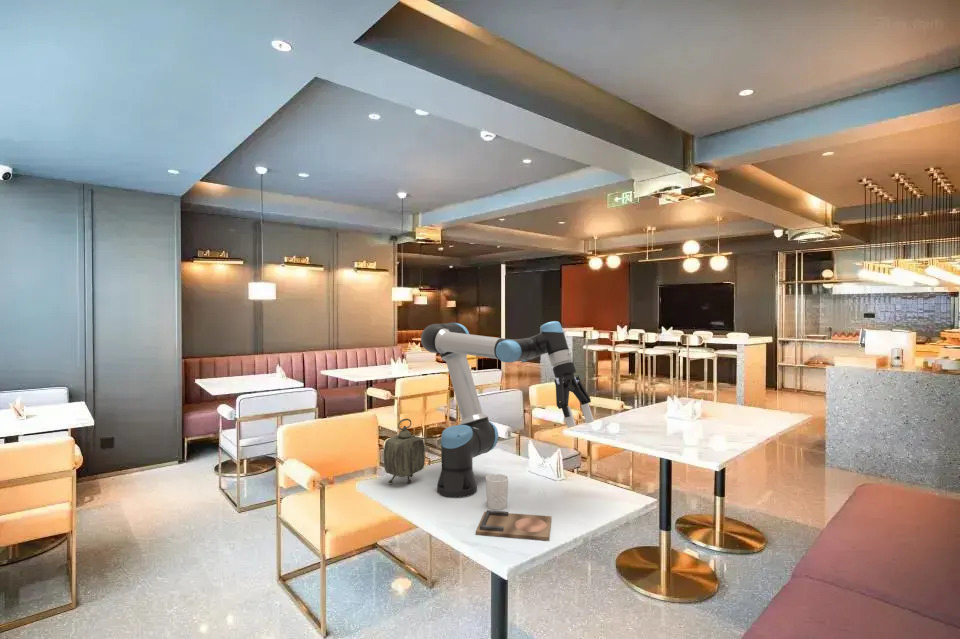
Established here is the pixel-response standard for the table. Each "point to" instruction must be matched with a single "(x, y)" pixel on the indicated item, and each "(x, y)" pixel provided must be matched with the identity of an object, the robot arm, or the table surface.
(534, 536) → the walnut board
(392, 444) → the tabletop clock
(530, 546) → the table surface
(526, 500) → the table surface
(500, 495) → the white cup
